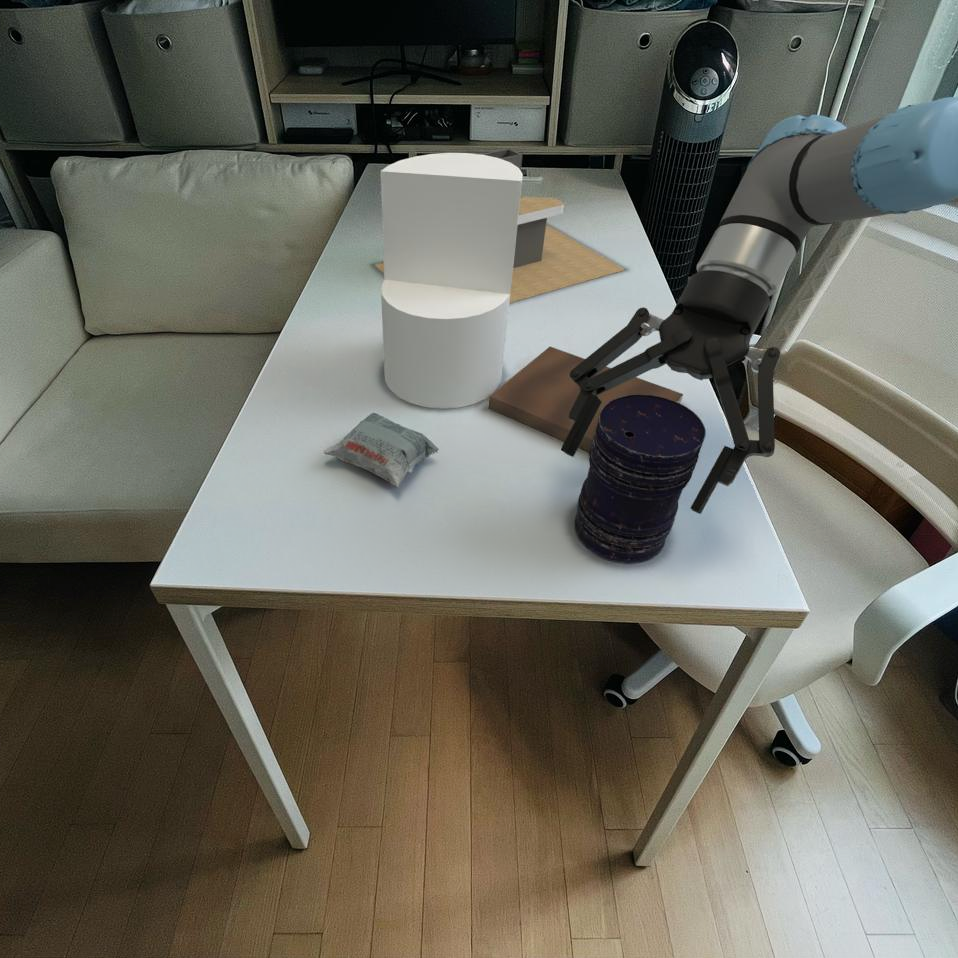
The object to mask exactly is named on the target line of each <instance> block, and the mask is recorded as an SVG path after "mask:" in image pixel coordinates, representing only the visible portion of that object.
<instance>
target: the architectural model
mask: <svg viewBox="0 0 958 958" xmlns="http://www.w3.org/2000/svg"><path fill="white" fill-rule="evenodd" d="M479 154H480V155H486V156H491V157H496V158H499V159H502V160H505V161H508V162H510V163H512V164H513V165H515V166H517V167H518V168H519V169H520V171H521V172H522V166H523V165H522V163H523V154H522V153H521V152H519V151H515V150H513V149H511V148H504V149H498V150H493V151H490V152H485V153H479ZM564 206H565V203H564V202H563V201H561V200H559V199H558V198H555V197H540V196H539V197H536V196H535V197H533V196H530V197H529V196H520V206H519V215H518V225H517V235H516V244H515V254H514V263H513V273H512V282H511V292H510V302H509V304H511V303H514V302H517V301H521V300H525V299H528V298H531V297H535V296H539V295H542V294H545V293H550V292H552V291H556V290H560V289H563V288H567V287H570V286H574V285H577V284H580V283H585V282H587V281H591V280H595V279H598V278H602V277H605V276H609V275H613V274H615V273H616V274H617V273H619V272H622V271H626V268H624V267H622V266H620V265H618V264H617V263H614V262H613V261H611V260H609V259H608V258H607V257H604V256H602V254H600V253H597V252H596V251H594V250H592V249H590V248H589V247H587V246H585V245H583V244H582V243H580V242H578V241H576V240H574V239H572V238H571V237H569V236H567V235H565V234H564V233H562V232H560V231H559V230H557V229H555V228H554V227H551V226H549V225H548V224H547V223H548V222H547V221H548V218H551V217H552V218H553V217H556V216H559V215H563V214H564ZM374 266H375V267H376V268H377V269H378V270H379V271H380V272H381V273H382V274H384V261H383V262H379V263H376V264H374Z"/></svg>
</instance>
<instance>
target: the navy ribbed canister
mask: <svg viewBox="0 0 958 958" xmlns="http://www.w3.org/2000/svg"><path fill="white" fill-rule="evenodd" d="M706 436H707V433H706V427H705V423H704V422H703V421H702V419H701V418H700V417H699V416H698V414H697V413H695V412H694V411H693V410H691V408H689V407H687V406H686V405H684V404H681V403H678V402H675V401H673V400H670V399H667V398H663V397H659V396H653V395H627V396H623V397H619V398H616V399H614V400H612V401H610V402H608V403H607V404H606V405H605V406H604V407H603V408H602V410H601V412H600V415H599V419H598V424H597V427H596V430H595V433H594V436H593V440H592V445H591V449H590V452H588V453H589V454H588V463H589V464H588V465H589V467H588V472H587V475H586V478H585V479H584V481H583V483H582V486H581V489H580V493H579V496H578V498H577V499H578V500H577V503H576V504H577V505H576V514H575V518H574V522H573V526H574V532H575V535H576V536H577V538H578V539H579V540H578V541H580V543H581V544H582V545H583V546H584V547H585V548H586V549H587V550H588V551H589V552H591V553H592V554H594V555H596V556H597V557H600V558H602V559H605V560H607V561H609V562H610V561H611V562H614V563H619V564H640V563H644V562H647V561H649V560H652V559H654V558H655V557H657V556H658V555H659V554H660V553H661V551H662V550H663V549H664V547H665V545H666V540H667V538H668V536H669V534H670V533H671V531H672V529H673V526H674V523H675V520H676V516H677V512H678V510H679V501H680V498H681V495H682V493H683V490H684V489H685V488H686V486H688V483H689V482H690V481H691V479H692V476H693V473H694V471H695V468H696V466H697V463H698V460H699V457H700V455H699V454H700V452H701V449H702V447H703V444H704V442H705V439H706Z"/></svg>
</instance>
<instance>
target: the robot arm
mask: <svg viewBox="0 0 958 958" xmlns="http://www.w3.org/2000/svg"><path fill="white" fill-rule="evenodd" d="M957 202H958V96H948V97H943V98H939V99H935V100H932V101H927V102H922V103H918V104H909V105H906V106H903V107H900V108H898V109H895V110H894V111H893V112H891V113H887V114H885V115H881V116H879V117H876V118H873V119H870V120H867V121H864V122H861V123H858V124H855V125H852V126H848V127H847V126H846V125H844V124H843V123H842V122H840V121H838V120H836V119H834V118H832V117H828V116H825V115H820V114H811V115H810V116H803V115H801V114H798V115H793V116H790V117H789V116H788V117H786V118H785V119H783V120H781V121H779V122H778V123H777V124H775V125H774V126H773V127H772V128H771V129H770V130H769V131H768V133H767V134H766V136H765V138H764V140H763V142H762V143H761V145H760V147H759V148H758V150H757V151H756V152H755V154H754V155H752V157H751V159H750V161H749V162H748V164H747V167H746V170H745V172H744V174H743V176H742V178H741V179H740V182H739V184H738V187H737V188H736V190H735V192H734V194H733V196H732V198H731V200H730V202H729V204H728V206H727V208H726V210H725V212H724V214H723V215H722V217H721V219H720V221H719V224H718V226H717V228H716V229H715V231H714V233H713V235H712V237H711V238H710V240H709V243H708V244H707V245H706V247H705V250H704V251H703V253H702V255H701V257H700V259H699V261H698V262H697V264H696V271H697V272H696V273H694V274H692V275H691V276H690V278H689V280H688V282H687V284H686V286H685V287H684V290H683V292H682V293H681V296H680V297H679V299H678V300H677V303H676V305H675V307H674V308H673V311H672V312H671V314H670V315H669V316H667V317H666V318H665V319H663V318H661V317H659V316H656V315H654V314H652V313H650V311H649V309H648V308H647V307H645V306H644V307H640V308H638V309H637V310H636V311H635V313H634V314H633V316H632V317H631V319H629V321H628V323H627V325H625V326H624V327H623V328H622V329H620V331H618V332H617V333H615V334H614V335H613V336H612V337H610V338H609V339H608V340H607V341H606V342H604V343H603V344H602V345H601V346H600V347H599V348H597V349H596V350H595V351H593V352H591V354H590V355H588V356H587V357H586V358H584V359H585V360H584V361H582V362H581V363H580V364H579V365H577V366H576V367H575V368H574V369H572V370H571V372H570V377H571V379H572V380H573V381H574V382H575V383H576V384H577V385H578V386H579V387H580V393H579V395H578V397H577V399H576V401H575V403H574V405H573V407H572V409H571V411H570V413H569V419H570V420H571V421H573V422H574V424H573V426H572V428H571V430H570V432H569V434H568V436H567V438H566V440H565V441H563V444H562V446H561V448H560V451H562V452H563V453H564V454H565V455H568V456H570V457H572V458H574V456H575V454H576V453H577V450H578V448H579V445H580V443H581V441H582V439H583V437H584V435H585V433H586V431H587V429H588V427H589V426H590V424H591V422H592V420H593V418H594V416H595V414H596V412H597V410H598V408H599V406H600V404H601V403H602V402H601V401H600V399H599V398H598V397H597V395H599V394H601V393H603V392H605V391H607V390H610V389H612V388H614V387H616V386H618V385H620V384H622V383H624V382H626V381H628V380H630V379H632V378H635V377H637V378H638V377H639V376H641V375H643V374H645V373H647V372H649V371H651V370H656V369H659V368H660V367H663V366H666V365H667V366H668V368H670V371H672V372H676V373H681V374H688V375H689V376H691V377H692V378H694V379H697V380H699V381H703V380H709V379H713V381H714V383H715V387H716V389H717V393H718V396H719V399H720V403H721V407H722V409H723V412H724V416H725V419H726V421H727V426H728V429H729V432H730V436H731V438H732V442H733V445H734V446H733V448H732V447H729V446H728V445H723V448H722V449H721V451H720V453H719V454H718V456H717V458H716V460H715V462H714V464H713V466H712V467H711V469H710V472H709V473H708V474H707V476H706V478H705V480H704V482H703V484H702V485H701V487H700V490H699V491H698V493H697V494H696V497H695V499H694V500H693V502H692V504H691V506H690V509H691V510H692V511H693V512H694V513H697V514H699V515H701V514H702V513H703V511H704V509H705V507H706V506H707V504H708V501H709V500H710V499H711V496H712V494H713V493H714V491H715V489H716V488H717V485H718V484H721V485H722V486H725V487H729V486H730V485H732V484H733V483H734V480H735V479H736V477H737V475H738V474H739V472H740V470H741V468H742V466H743V465H744V463H745V461H746V460H747V459H748V458H749V457H764V458H770V457H772V456H774V454H775V449H776V448H775V447H776V439H775V437H776V436H775V400H774V399H775V397H774V377H775V374H776V373H777V369H778V366H779V364H780V359H781V351H780V348H778V347H775V346H770V347H768V348H767V349H764V348H759V347H755V346H750V343H751V340H752V337H753V336H754V334H755V332H756V330H757V328H758V326H759V324H760V322H761V321H762V320H763V319H762V318H763V317H764V315H765V313H766V311H768V308H769V306H770V304H771V299H770V297H771V296H773V295H774V294H776V293H777V291H778V289H779V287H780V285H781V284H782V282H783V280H784V279H785V276H786V275H787V272H788V271H789V269H790V267H791V265H792V264H793V261H794V259H795V257H796V256H797V255H798V253H799V251H800V249H801V246H802V244H803V242H804V241H805V239H806V237H807V235H808V234H809V232H810V231H811V230H812V229H813V228H814V227H817V226H818V227H819V226H827V225H832V224H836V223H841V222H848V221H854V220H862V219H868V218H874V217H880V216H886V215H887V216H888V215H902V214H903V215H904V214H907V213H910V212H917V211H923V210H927V209H929V208H931V207H935V206H939V205H940V206H941V205H945V204H951V203H957ZM654 332H658V333H659V339H660V341H659V342H657V343H655V344H653V345H651V346H649V347H647V348H646V349H645V350H644V351H643V352H641V353H638V354H637V355H635V356H632V357H631V358H628V359H627V360H625V361H622V362H620V363H619V364H616V365H615V366H613V367H610V368H611V369H609V370H606V371H604V372H602V373H600V374H598V375H596V374H597V373H599V372H600V371H601V370H602V369H604V368H605V367H608V366H609V365H610V364H611V363H612V362H614V361H615V360H617V358H619V357H620V356H622V355H623V354H625V352H627V351H628V350H629V349H631V347H633V346H634V345H635V344H637V342H639V341H640V339H641V338H642V337H647V336H649V335H651V334H653V333H654ZM747 360H748V361H749V362H750V365H751V371H752V372H754V373H755V374H757V418H758V439H750V438H749V435H748V431H747V428H746V426H745V422H744V419H743V415H742V412H741V409H740V406H739V403H738V400H737V397H736V392H735V390H734V387H733V384H732V380H731V377H730V373H729V370H730V369H731V368H733V367H735V366H737V365H738V364H741V363H742V362H744V361H747ZM595 375H596V376H595Z"/></svg>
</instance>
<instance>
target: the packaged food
mask: <svg viewBox="0 0 958 958" xmlns="http://www.w3.org/2000/svg"><path fill="white" fill-rule="evenodd" d="M439 450H440V449H439V447H438V446H436V444H434V442H432V441H431V440H430V439H429V438H428V437H427V436H426V435H424V434H423V433H421V432H418V431H416V430H414V429H411V428H407V427H405V426H403V425H401V424H399V423H396V422H395V421H392V420H390V419H389V418H386V417H385V416H383V415H380V414H378V413H376V412H371V413H370V414H369V415H367V416H366V417H365V418H364V419H362V420H361V421H360V422H359V423H357V425H356V426H355V427H354V428H352V429H351V430H350V431H349V432H348V433H347V434H346V435H345V436H344V437H343V438H342V439H341V440H340V441H339V442H337V443H335V444H333V445H331V446H329V447H327V448H326V449H324V451H323V454H324V455H326V456H330V457H332V458H333V457H335V458H339V459H340V460H341V461H343V462H346V463H348V464H350V465H354V466H357V467H359V468H362V469H364V470H366V471H369V473H370V472H371V473H372V474H373V475H376V476H377V477H380V478H381V479H383V480H384V481H387V482H388V483H390V484H391V485H394V486H395V487H397V488H399V487H400V485H401V484H402V481H403V480H404V478H405V476H406V475H407V474H408V473H413V472H414V468H415V467H417V466H418V465H419V463H420V462H421V461H423V460H425V458H429V457H430V456H432V455H434V454H436V453H438V451H439Z"/></svg>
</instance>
